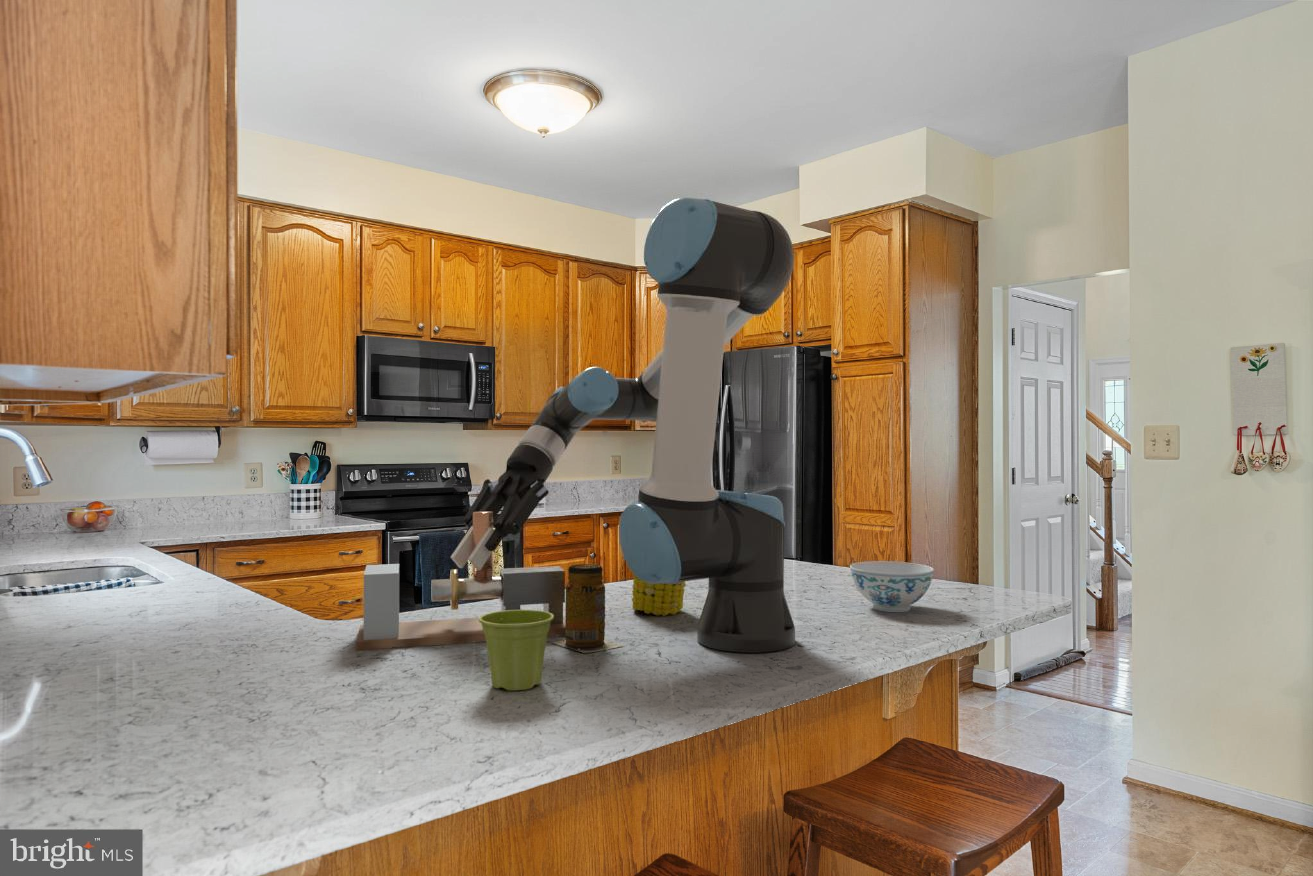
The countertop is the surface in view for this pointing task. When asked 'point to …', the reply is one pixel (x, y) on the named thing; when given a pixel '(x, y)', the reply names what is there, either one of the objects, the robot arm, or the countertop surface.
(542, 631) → the plant pot
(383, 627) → the socket block
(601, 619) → the condiment
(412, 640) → the base board
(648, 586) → the food
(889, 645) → the countertop surface
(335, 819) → the countertop surface
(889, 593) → the chinaware
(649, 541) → the robot arm
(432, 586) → the tube
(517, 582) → the grey concrete block
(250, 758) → the countertop surface
